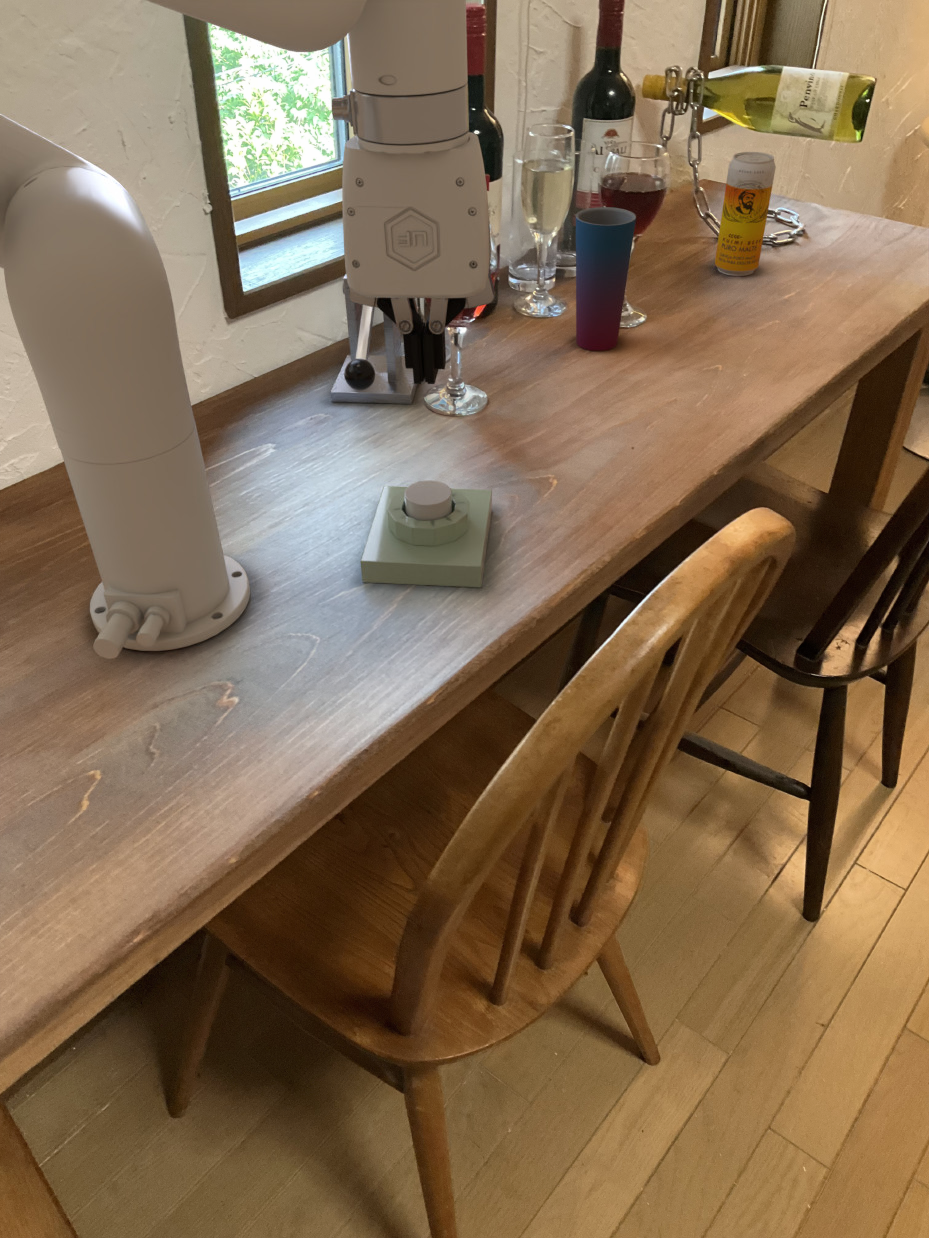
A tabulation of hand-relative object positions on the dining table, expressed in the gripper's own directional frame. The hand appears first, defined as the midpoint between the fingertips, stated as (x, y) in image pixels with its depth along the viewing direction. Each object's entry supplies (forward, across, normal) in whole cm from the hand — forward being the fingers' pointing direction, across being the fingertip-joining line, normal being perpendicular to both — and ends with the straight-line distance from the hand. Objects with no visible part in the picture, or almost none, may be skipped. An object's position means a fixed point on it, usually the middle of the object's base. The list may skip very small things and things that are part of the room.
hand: (426, 376), depth 75 cm
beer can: (+17, +34, +72) cm, 81 cm away
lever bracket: (+16, -10, +32) cm, 37 cm away
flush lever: (+9, -10, +28) cm, 31 cm away
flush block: (+16, 0, 0) cm, 16 cm away
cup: (+16, +14, +45) cm, 50 cm away
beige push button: (+12, 0, 0) cm, 12 cm away
